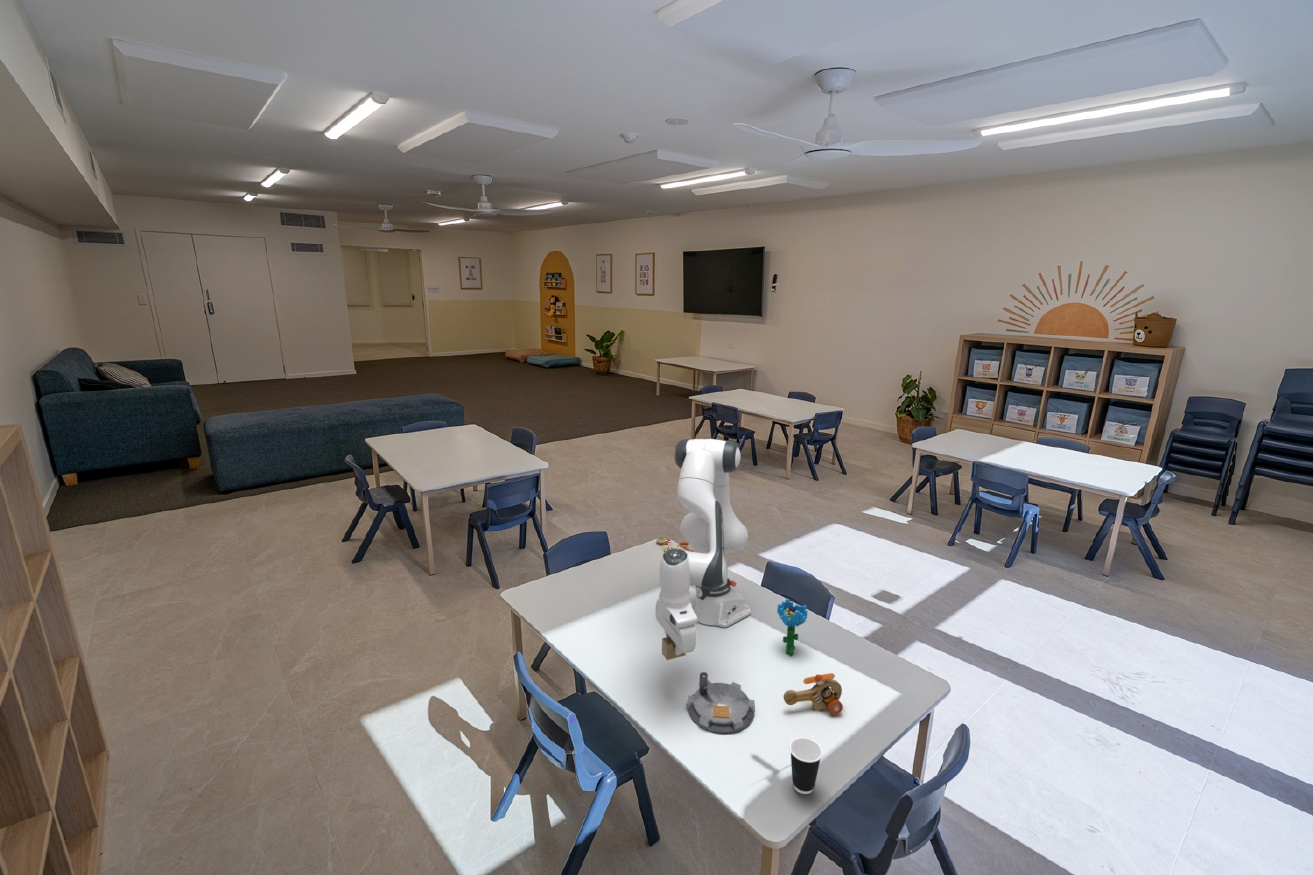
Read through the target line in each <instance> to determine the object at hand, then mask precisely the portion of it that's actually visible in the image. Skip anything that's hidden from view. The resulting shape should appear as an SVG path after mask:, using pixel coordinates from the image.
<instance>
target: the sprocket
mask: <svg viewBox="0 0 1313 875" xmlns="http://www.w3.org/2000/svg"><path fill="white" fill-rule="evenodd" d="M708 679H709V674H708V673H707V672H705V671H703V672H702V671H701V672H700V673H699V683H698V685H699V688H698V689H697V690H696V692H694V693H693V694H694V696H693V695H688V696H687V708H688V707H691V708H694V711H695V713H696V714H697V716H698V717H699V718H700V722H699V723H700V724H702V725H704V726H706V727H709V726H710V725H711V724H712V725H715V726H732V727H733V729H734V730H735V729H738V728H741V727H743V720H744V719H745V718H746V717H747V715H748V713H749V712H754V713H755V712H756V702H755V699H749V700H748V698H749V697H748V695H747V694H746V693H745V692H744V691H743V690H742V685H741V684H739V683H737V682H734V681H732V682H731V683H730V684H729V683H724V682H713V683H712V682H711V680H708Z"/></svg>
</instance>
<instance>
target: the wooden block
mask: <svg viewBox="0 0 1313 875" xmlns="http://www.w3.org/2000/svg"><path fill="white" fill-rule="evenodd" d="M675 647H676V645H675V643H674V642H673V640H672V639H671V638H670V637H666V636H665V637H662V638H661V655H662V656H663V657H664V658H665V660H666V661H669V660H673V659H678V658H681V657H684V656H686V655H687V653H682V652H681V655H675V653H674V648H675Z"/></svg>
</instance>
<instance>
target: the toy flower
mask: <svg viewBox="0 0 1313 875" xmlns="http://www.w3.org/2000/svg"><path fill="white" fill-rule="evenodd" d="M777 615H779V616H778V617H779V619H780V620H781V621H782V623H783V624H784V626H787V630H786V636H785V635H783V637H782V642H783V643H784V644H786V645H785V654H786V655H787V656H790V657H792V655H794V650H795V649H796V646H795V641H798V640H799V634H798V633H795V632H796V627H799V626H801V625H802V624H804V623H806V620H807V619H808V610H807V605H805V604H804V605H800V604H795V605H794V601H792V600H791V601H790V599H789V598H786V599H785V601H781V603H779V604H777Z"/></svg>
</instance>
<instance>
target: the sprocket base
mask: <svg viewBox="0 0 1313 875" xmlns="http://www.w3.org/2000/svg"><path fill="white" fill-rule="evenodd" d="M694 694H695V693H693V694H692V696H694ZM748 700H750V698H749V697H748ZM687 710H688V714H689V717H690V719H691V721H692V722H693V723H694V724H696V725H697V727H699V728H701V729H702V730H703V731H706V732H709V733H712V734H716V735H734V734H737V733H741V732H743V731H744V730H746V729H747V728H748V727H749V726H750V725H751V724H752V723H753V720H754V716H755V712H749V713H748V715H747V717H746V718H745V719H744V720H743V727H741V728H738V729H735V730H734V729H733V727H732V726H715V725H712V724H711V725H710V726H709V727H706V726H704V725H702V724H700V723H699V722H700V718H699V717H698V716H697V714H696V713H695V711H694V708H691V707H688V706H687Z"/></svg>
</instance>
